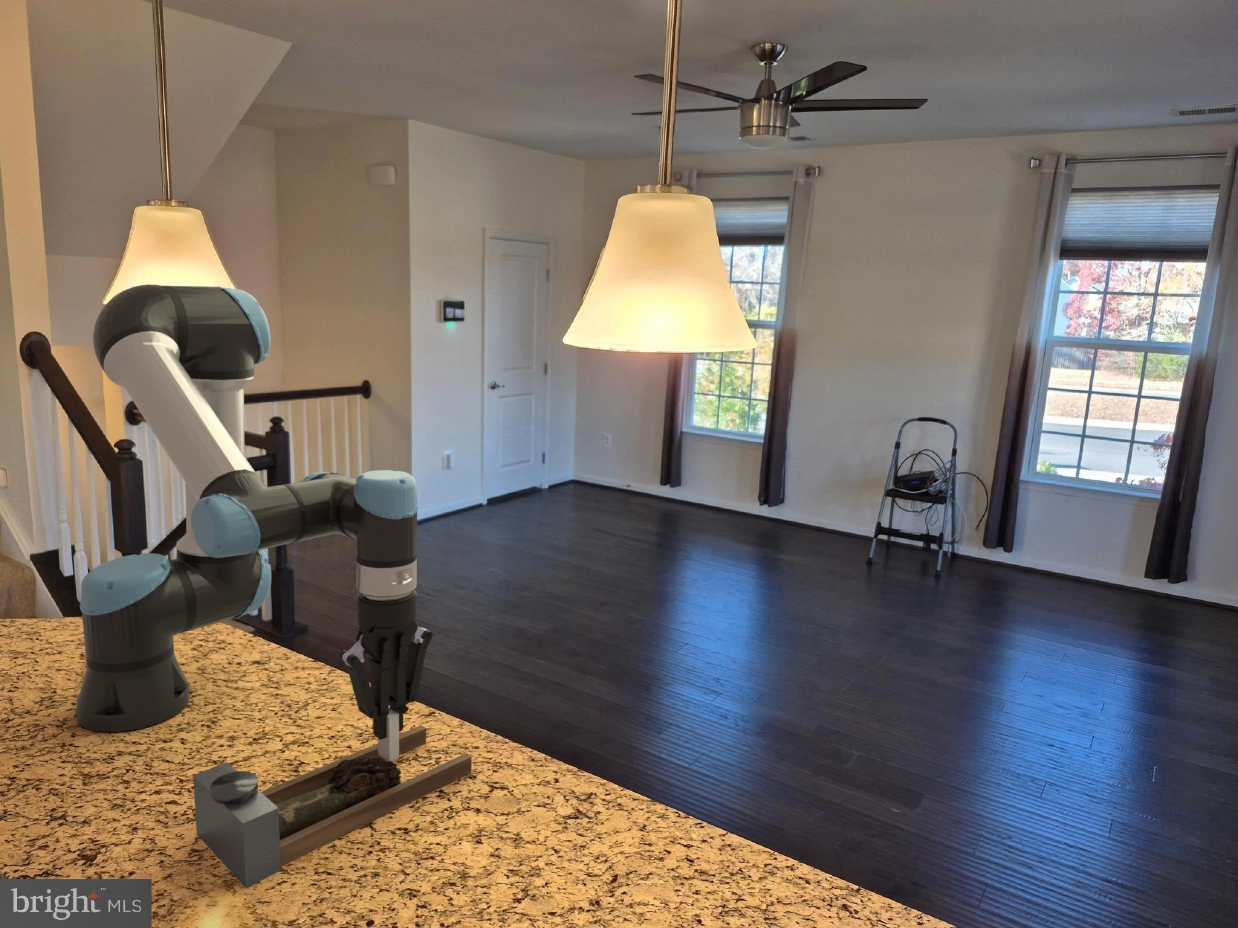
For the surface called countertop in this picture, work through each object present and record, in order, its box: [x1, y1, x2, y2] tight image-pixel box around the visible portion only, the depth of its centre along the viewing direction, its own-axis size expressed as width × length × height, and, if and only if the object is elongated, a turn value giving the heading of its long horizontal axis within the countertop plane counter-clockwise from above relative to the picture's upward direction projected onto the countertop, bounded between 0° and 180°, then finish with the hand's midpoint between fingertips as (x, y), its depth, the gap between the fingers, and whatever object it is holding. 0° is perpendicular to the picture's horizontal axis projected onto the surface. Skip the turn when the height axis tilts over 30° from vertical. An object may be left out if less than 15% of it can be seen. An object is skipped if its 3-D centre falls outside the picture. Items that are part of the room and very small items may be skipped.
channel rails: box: [260, 724, 473, 867], centre depth 109 cm, size 12×28×2 cm, turn 139°
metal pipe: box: [275, 757, 402, 840], centre depth 105 cm, size 18×7×6 cm, turn 133°
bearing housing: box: [192, 761, 282, 889], centre depth 97 cm, size 13×5×9 cm, turn 49°
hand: (388, 755), depth 112 cm, fingers closed
